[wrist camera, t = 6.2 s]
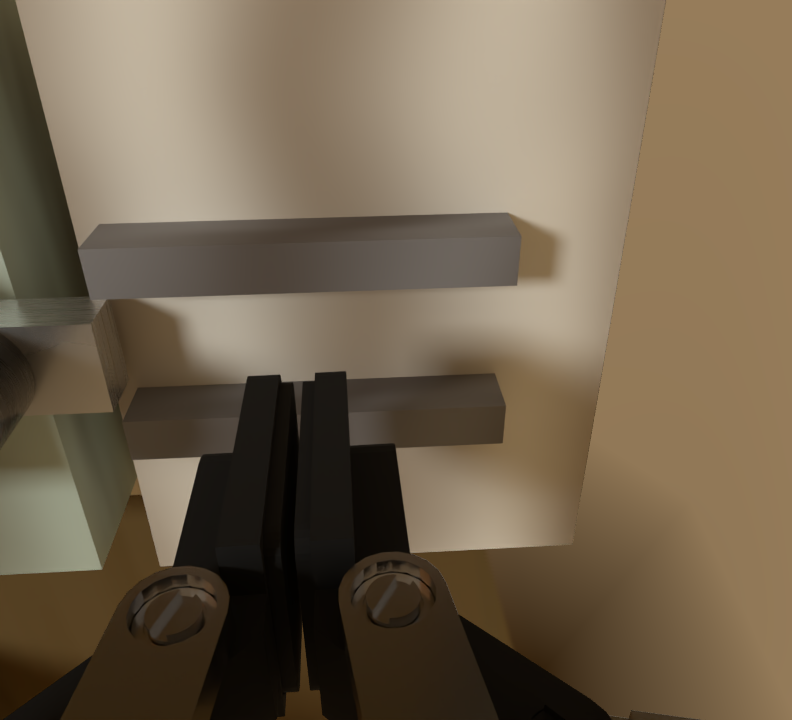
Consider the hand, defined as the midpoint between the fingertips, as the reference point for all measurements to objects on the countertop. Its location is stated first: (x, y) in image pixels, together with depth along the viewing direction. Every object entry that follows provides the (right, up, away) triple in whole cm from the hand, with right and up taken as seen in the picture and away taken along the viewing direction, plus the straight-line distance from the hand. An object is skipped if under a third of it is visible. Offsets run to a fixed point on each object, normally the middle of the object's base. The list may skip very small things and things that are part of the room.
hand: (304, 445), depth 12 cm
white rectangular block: (-4, +5, +7) cm, 10 cm away
